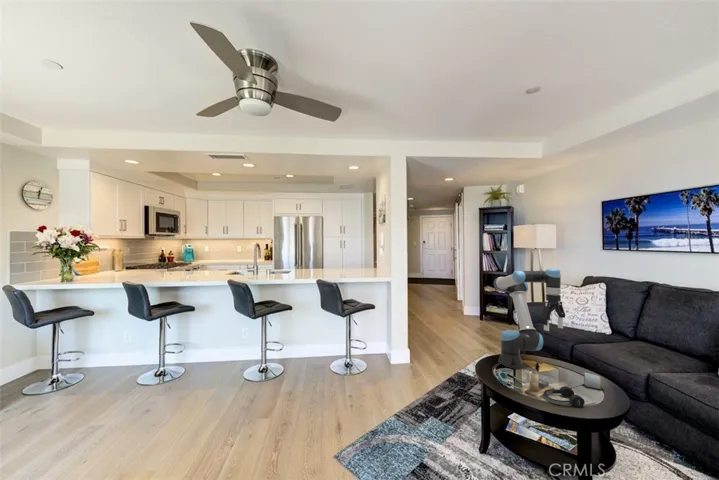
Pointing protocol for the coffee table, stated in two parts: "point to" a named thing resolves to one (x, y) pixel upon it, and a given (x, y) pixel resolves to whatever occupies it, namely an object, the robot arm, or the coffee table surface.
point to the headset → (566, 393)
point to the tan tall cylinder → (534, 380)
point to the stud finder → (543, 383)
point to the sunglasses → (502, 375)
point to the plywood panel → (535, 394)
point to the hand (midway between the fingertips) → (553, 329)
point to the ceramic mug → (592, 381)
